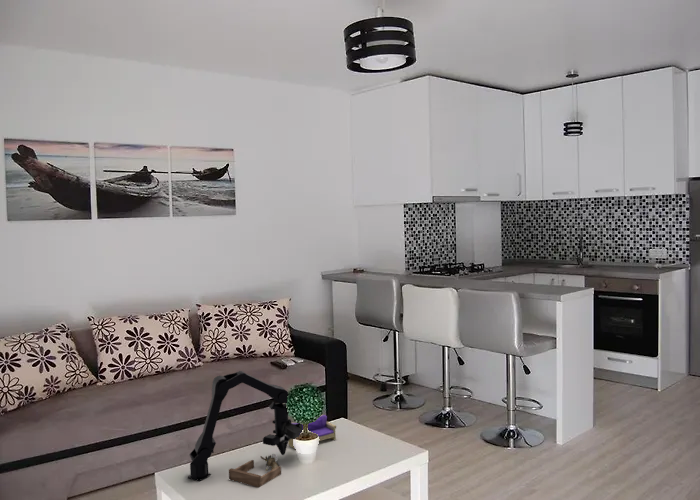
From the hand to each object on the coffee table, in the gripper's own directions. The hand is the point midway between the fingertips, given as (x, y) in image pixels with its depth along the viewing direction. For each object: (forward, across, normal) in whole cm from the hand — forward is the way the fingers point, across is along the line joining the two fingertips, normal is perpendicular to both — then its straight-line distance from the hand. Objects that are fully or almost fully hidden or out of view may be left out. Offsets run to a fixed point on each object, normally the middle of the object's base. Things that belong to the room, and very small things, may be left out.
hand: (283, 454), depth 255 cm
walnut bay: (+3, -18, 0) cm, 18 cm away
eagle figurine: (+3, -10, -1) cm, 10 cm away
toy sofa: (+3, +22, +1) cm, 23 cm away
